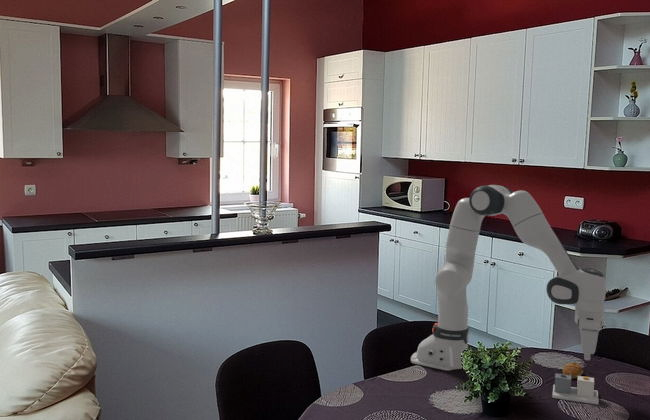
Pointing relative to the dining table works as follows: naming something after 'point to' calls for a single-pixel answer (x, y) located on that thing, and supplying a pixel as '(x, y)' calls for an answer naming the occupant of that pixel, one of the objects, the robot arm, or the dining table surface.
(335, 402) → the dining table surface
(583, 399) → the rail base
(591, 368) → the dining table surface
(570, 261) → the robot arm
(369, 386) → the dining table surface
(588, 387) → the module
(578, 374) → the pastry
